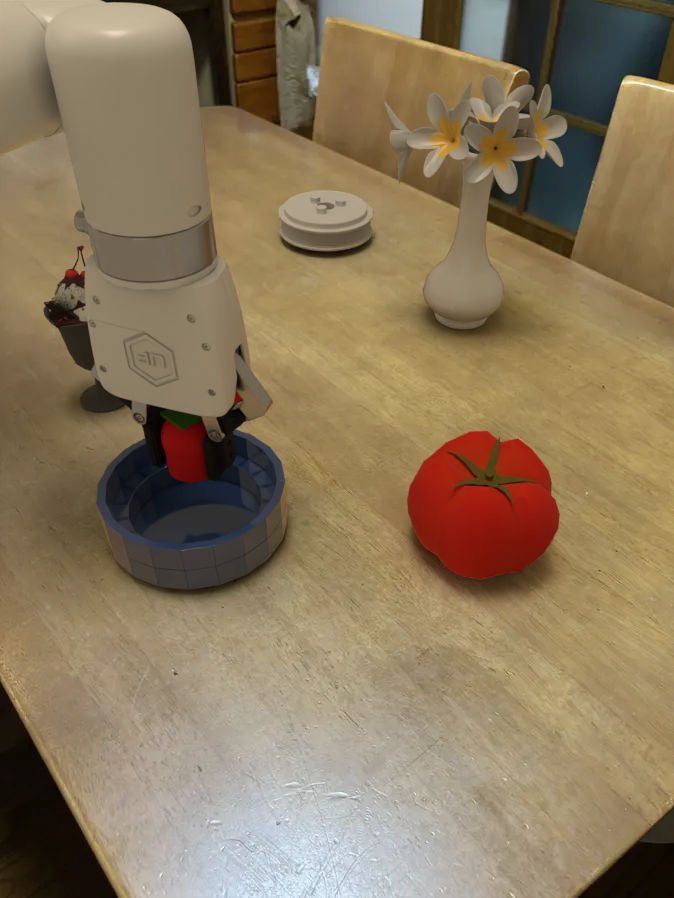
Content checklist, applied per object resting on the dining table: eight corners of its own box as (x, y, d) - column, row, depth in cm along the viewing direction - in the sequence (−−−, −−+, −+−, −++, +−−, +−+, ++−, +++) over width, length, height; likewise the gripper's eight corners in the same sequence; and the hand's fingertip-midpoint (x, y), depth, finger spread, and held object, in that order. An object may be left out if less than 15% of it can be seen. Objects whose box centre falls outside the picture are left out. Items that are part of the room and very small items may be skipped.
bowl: (74, 529, 62) (59, 484, 58) (211, 448, 70) (205, 404, 66) (185, 626, 55) (175, 581, 52) (322, 524, 63) (322, 479, 60)
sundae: (134, 373, 78) (103, 234, 68) (144, 409, 74) (113, 266, 63) (68, 384, 76) (26, 243, 66) (74, 423, 72) (30, 278, 62)
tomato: (426, 485, 67) (435, 403, 61) (560, 523, 64) (584, 440, 58) (383, 569, 60) (389, 485, 53) (532, 616, 57) (557, 533, 50)
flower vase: (368, 297, 91) (375, 67, 74) (512, 287, 94) (551, 64, 77) (390, 355, 82) (404, 108, 65) (549, 342, 85) (602, 102, 68)
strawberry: (156, 466, 59) (144, 412, 56) (198, 442, 62) (189, 388, 58) (190, 491, 57) (179, 437, 54) (232, 465, 60) (225, 411, 56)
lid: (391, 238, 103) (392, 202, 100) (325, 267, 97) (324, 229, 93) (327, 210, 110) (326, 175, 106) (260, 236, 103) (258, 199, 99)
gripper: (1, 244, 46) (73, 469, 58) (253, 291, 43) (273, 519, 55) (72, 199, 51) (125, 414, 64) (301, 237, 48) (310, 456, 60)
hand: (193, 461), depth 59 cm, fingers closed on strawberry, 4 cm apart
